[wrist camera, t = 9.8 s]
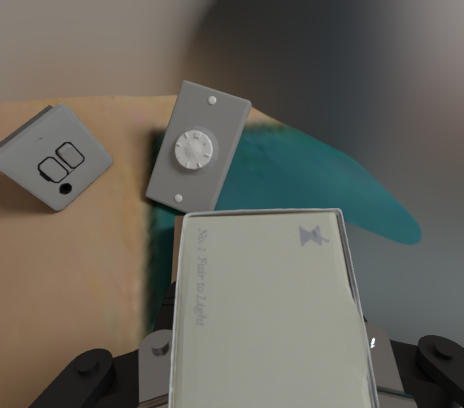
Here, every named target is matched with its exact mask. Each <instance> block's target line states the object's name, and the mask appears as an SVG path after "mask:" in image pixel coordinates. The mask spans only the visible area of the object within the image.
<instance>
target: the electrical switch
mask: <svg viewBox="0 0 464 408" xmlns="http://www.w3.org/2000/svg"><path fill="white" fill-rule="evenodd" d="M1 144H2V145H1ZM112 163H113V158H112V157H111V156H110V154H109V153H108V152H107V151H106V149H105V148H104V147H103V146H102V145H101V144H100V142H99V141H98V140H97V139H96V138H95V137H94V135H93V134H92V133H91V132H90V131H89V129H88V128H87V127H86V126H85V125H84V124H83V122H82V121H81V120H80V119H79V118H78V117H77V115H76V114H75V113H74V112H73V111H72V110H71V108H70V107H68V106H67V105H65V104H62V103H59V104H57V105H56V106H55V107H52V106H50V105H49V106H47V107H46V108H45V109H43V110H42V111H41V112H39V113H38V114H37V115H36V116H34V117H33V118H32V119H30V120H29V121H28V122H26V123H25V124H24V125H22V126H21V127H20V128H18V129H17V130H16V131H14V132H13V133H12V134H10V135H9V136H8V137H7V138H5V139H4V140H3V141H1V142H0V171H1V172H2V173H4V174H5V175H7V176H8V177H9V178H11V179H12V180H14V181H15V182H16V183H18V184H19V185H21V186H22V187H23V188H25V189H26V190H28V191H29V192H30V193H32V194H33V195H35V196H36V197H37V198H39V199H40V200H41V201H43V202H44V203H46V204H47V205H48V206H50V207H51V208H53V209H54V210H55V211H60V210H63V209H64V208H65V207H66V206H67V205H68V204H69V203H71V202H72V201H73V200H74V199H75V198H76V197H77V196H78V195H79V194H80V193H81V192H83V191H84V190H85V189H86V188H87V187H88V186H89V185H90V184H91V183H92V182H93V181H94V180H96V179H97V178H98V177H99V176H100V175H101V174H102V173H103V172H104V171H105V170H106V169H107V168H109V167H110V166H111V165H112Z"/></svg>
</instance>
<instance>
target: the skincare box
mask: <svg viewBox="0 0 464 408" xmlns="http://www.w3.org/2000/svg"><path fill="white" fill-rule="evenodd" d="M168 408H379V402H378V396H377V390H376V384H375V378H374V373H373V367H372V361H371V355H370V349H369V343H368V338H367V333H366V328H365V323H364V318H363V314H362V309H361V304H360V299H359V293H358V288H357V284H356V279H355V274H354V270H353V264H352V259H351V254H350V249H349V246H348V239H347V235H346V231H345V225H344V220H343V215H342V211H341V210H340V209H339V208H331V209H313V208H311V209H261V210H225V211H207V212H191V213H187V214H186V215H185V216H184V217H183V222H182V230H181V238H180V248H179V255H178V267H177V278H176V291H175V303H174V316H173V331H172V347H171V364H170V381H169V398H168Z"/></svg>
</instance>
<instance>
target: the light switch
mask: <svg viewBox="0 0 464 408" xmlns="http://www.w3.org/2000/svg"><path fill="white" fill-rule="evenodd" d="M250 109H251V102H250V101H248V100H245V99H242V98H239V97H236V96H233V95H229V94H226V93H223V92H220V91H217V90H214V89H211V88H207V87H204V86H201V85H198V84H195V83H192V82H189V81H186V80H185V81H183V82H182V85H181V87H180V91H179V94H178V97H177V100H176V103H175V106H174V109H173V112H172V115H171V118H170V121H169V124H168V127H167V130H166V133H165V136H164V139H163V142H162V145H161V148H160V151H159V154H158V157H157V160H156V163H155V166H154V169H153V172H152V175H151V178H150V181H149V184H148V187H147V191H146V194H145V196H146V197H147V198H150V199H152V200H154V201H157V202H159V203H162V204H164V205H167V206H169V207H172V208H174V209H177V210H179V211H181V212H184V213H186V214H187V213H191V212H207V211H214V208H215V206H216V203H217V200H218V197H219V195H220V192H221V189H222V186H223V183H224V181H225V178H226V175H227V172H228V170H229V167H230V164H231V161H232V159H233V156H234V153H235V150H236V147H237V145H238V142H239V139H240V136H241V134H242V131H243V128H244V125H245V123H246V120H247V117H248V114H249V111H250ZM206 135H207V136H206ZM190 169H191V170H190Z"/></svg>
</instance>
